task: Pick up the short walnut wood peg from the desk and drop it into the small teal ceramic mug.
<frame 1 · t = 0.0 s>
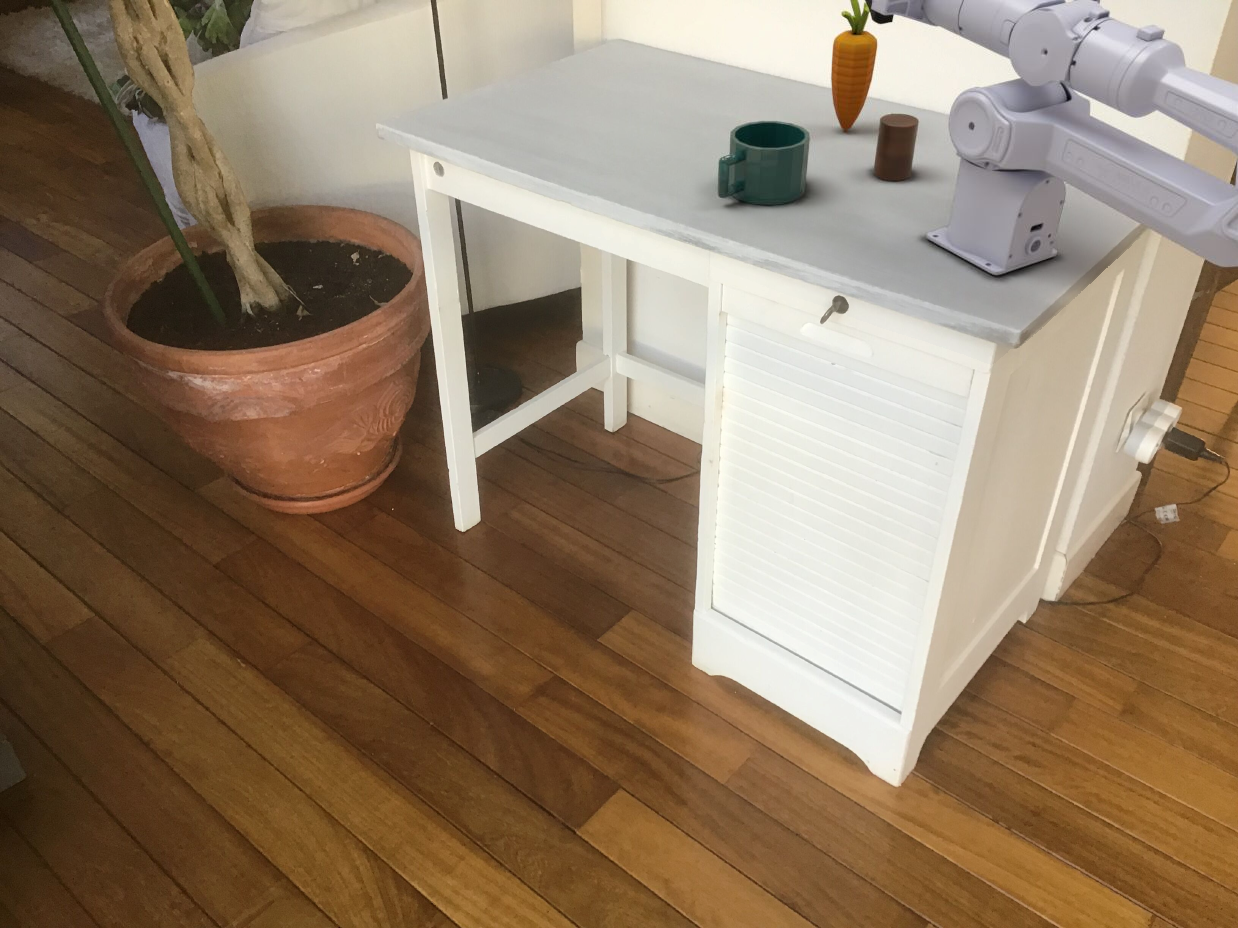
walnut peg: (891, 174, 113), on the table
mug: (766, 189, 110), on the table
carrot: (845, 132, 123), on the table
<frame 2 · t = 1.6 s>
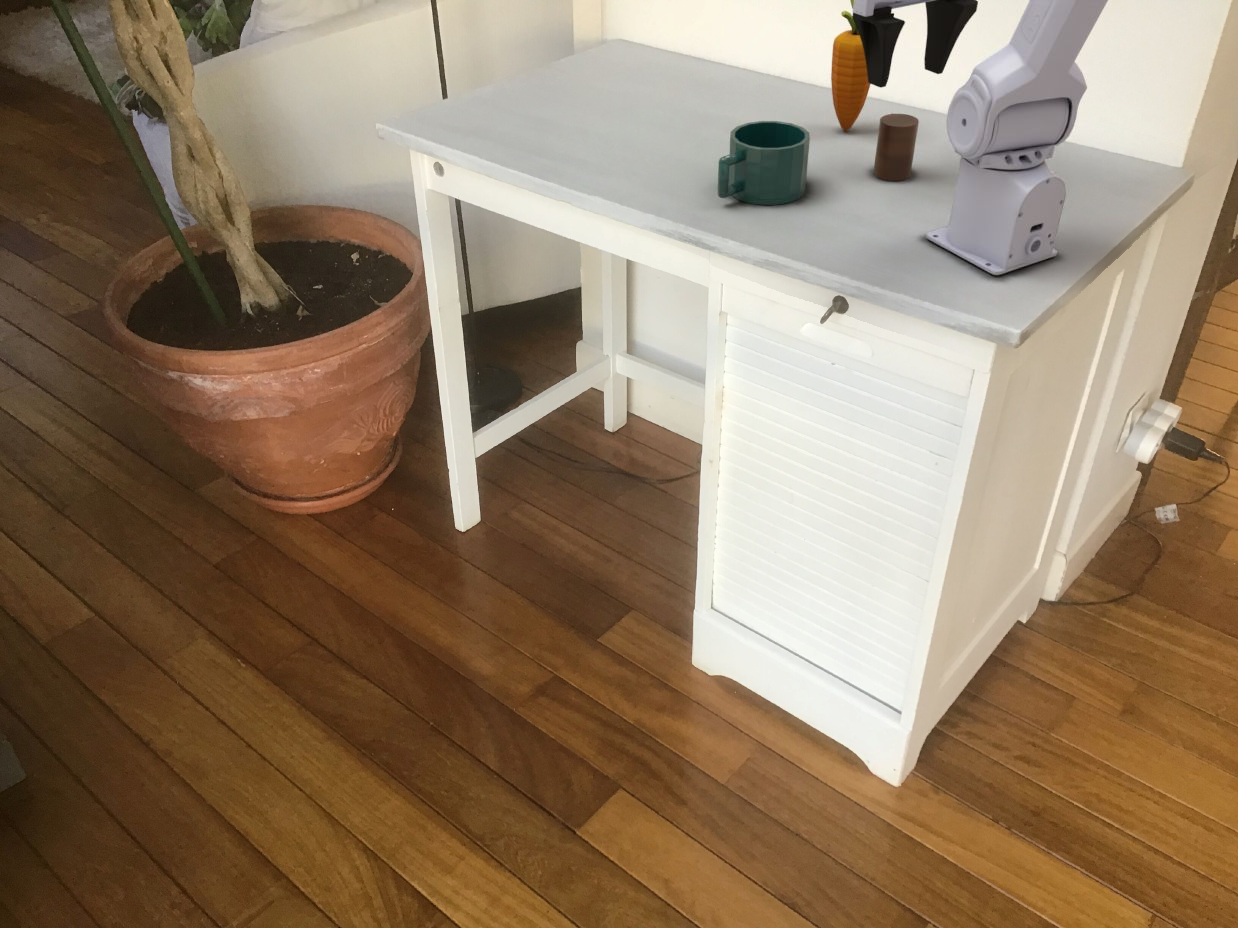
hand: (905, 78, 106), 10 cm above the table, tool pointing down, fingers open, 7 cm apart
nothing on the table moved.
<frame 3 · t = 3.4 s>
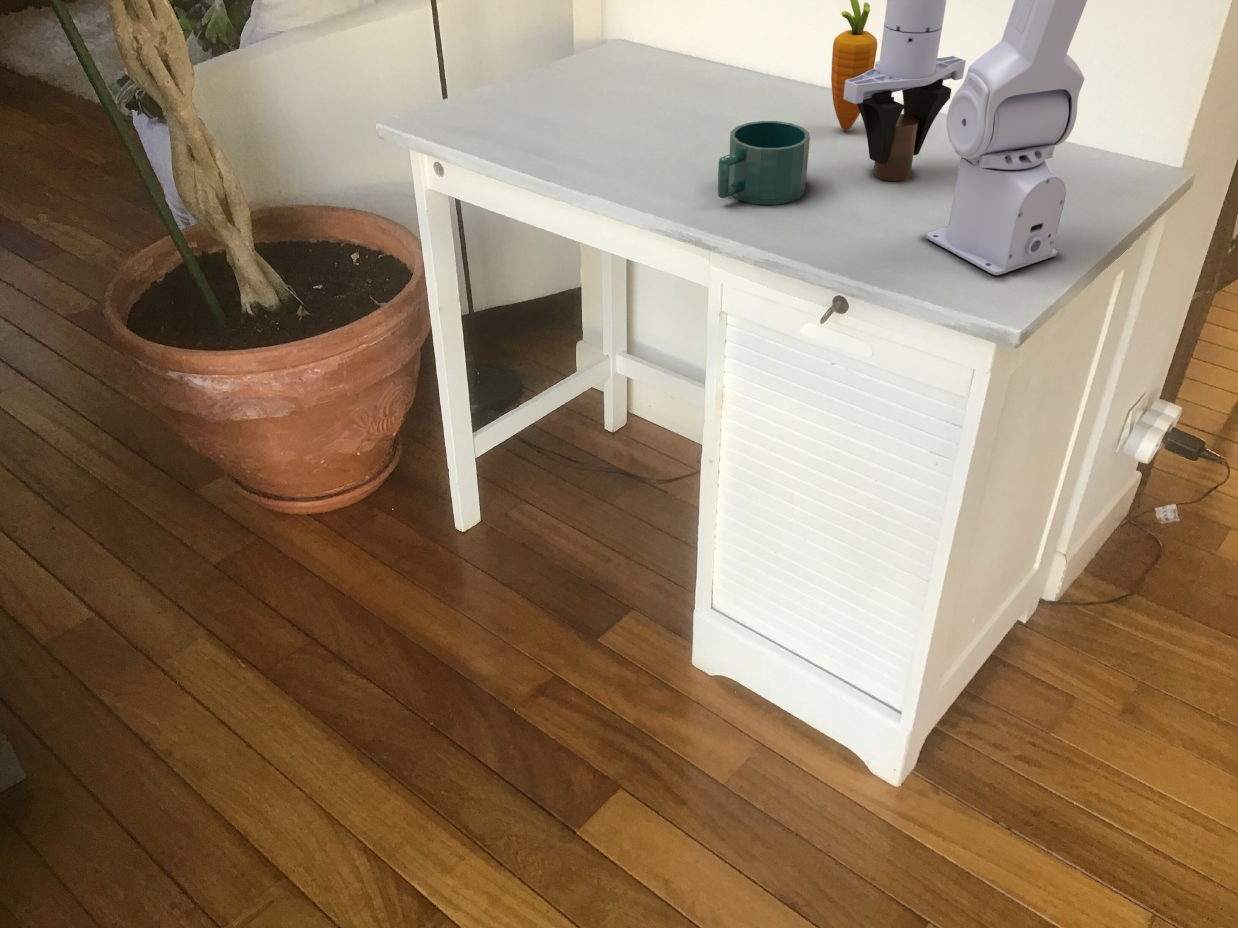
hand: (894, 156, 111), 2 cm above the table, tool pointing down, fingers closed on walnut peg, 4 cm apart
walnut peg: (891, 174, 113), on the table, touching gripper
everything else where it was.
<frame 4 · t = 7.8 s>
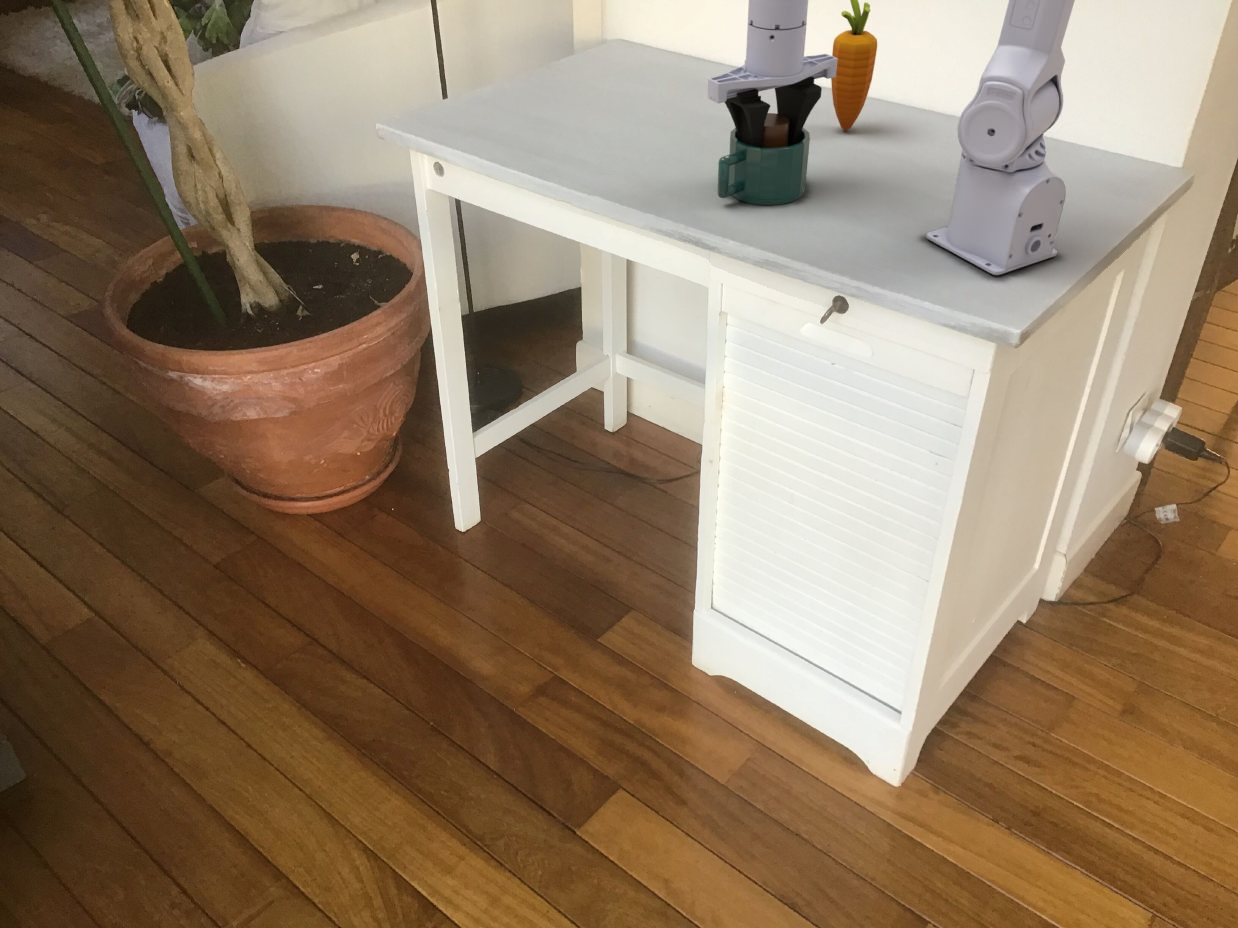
hand: (768, 157, 108), 4 cm above the table, tool pointing down, fingers closed on walnut peg, 4 cm apart
walnut peg: (766, 175, 109), point 2 cm above the table, touching gripper
everything else where it was.
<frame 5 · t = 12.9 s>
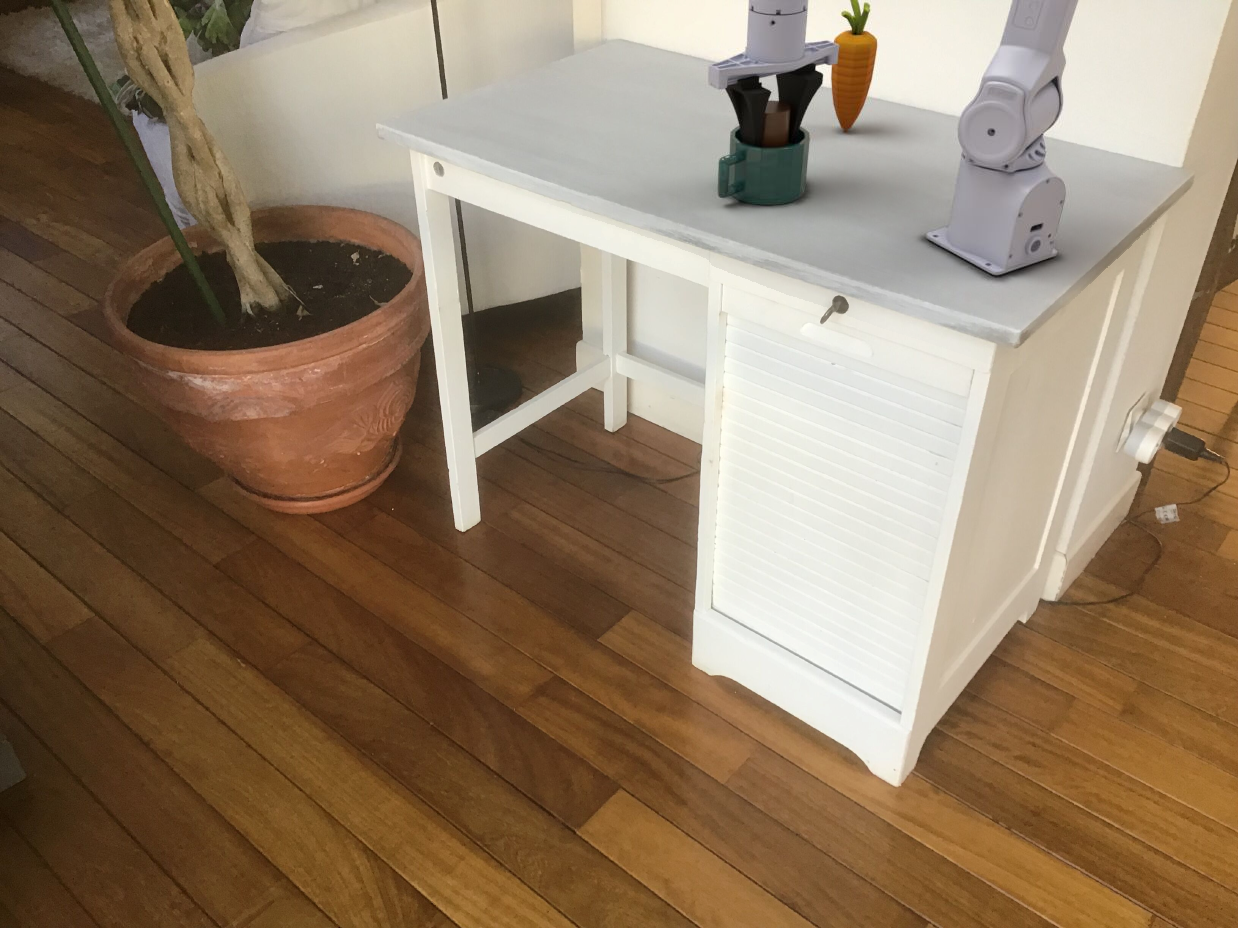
hand: (769, 145, 107), 5 cm above the table, tool pointing down, fingers closed on walnut peg, 4 cm apart
walnut peg: (767, 163, 109), point 3 cm above the table, touching gripper
everything else where it was.
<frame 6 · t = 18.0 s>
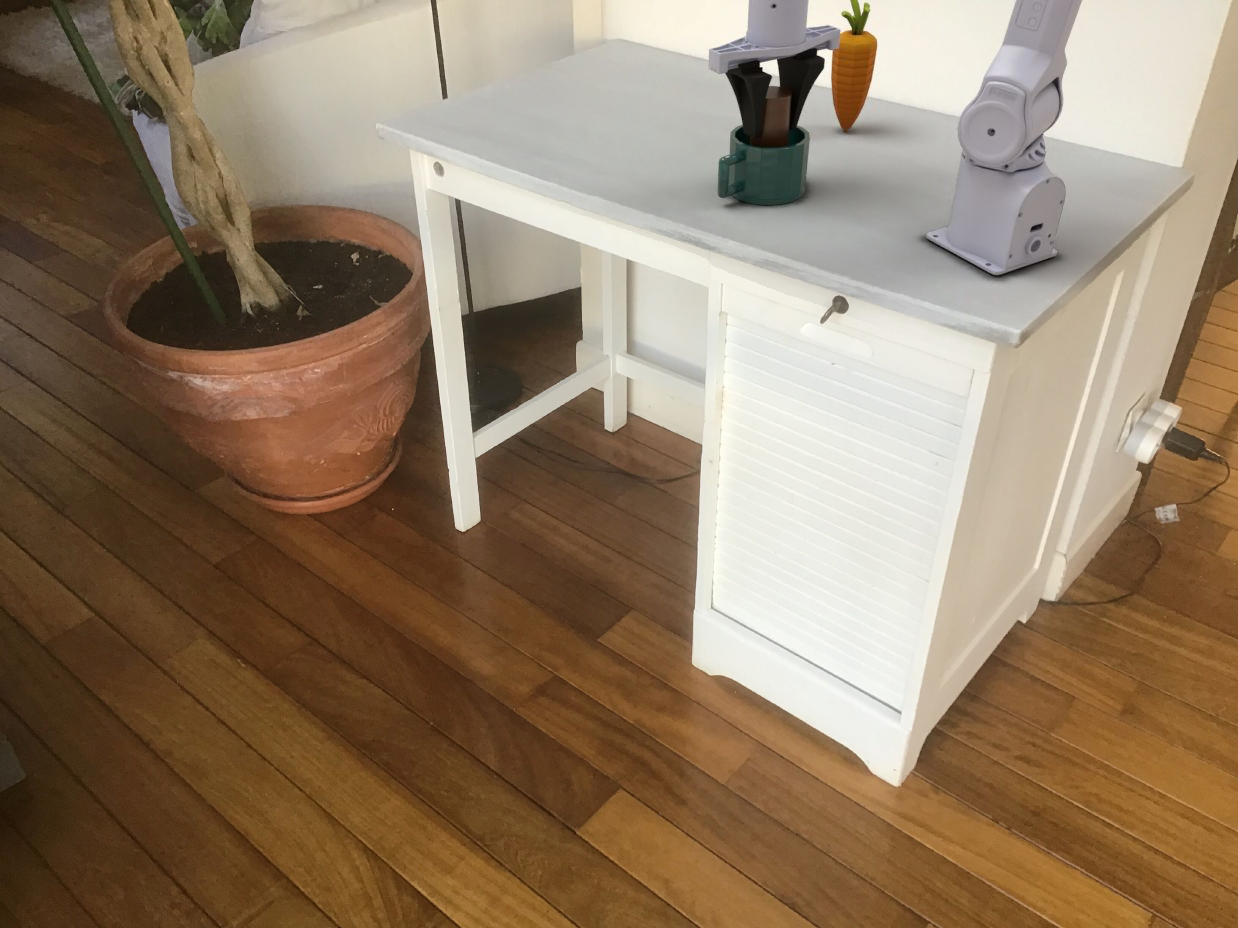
hand: (770, 131, 106), 6 cm above the table, tool pointing down, fingers closed on walnut peg, 4 cm apart
walnut peg: (768, 149, 108), point 4 cm above the table, touching gripper
everything else where it was.
when the fingers open (7 cm above the table, at t = 22.7 s): walnut peg drops 4 cm, resting on mug.
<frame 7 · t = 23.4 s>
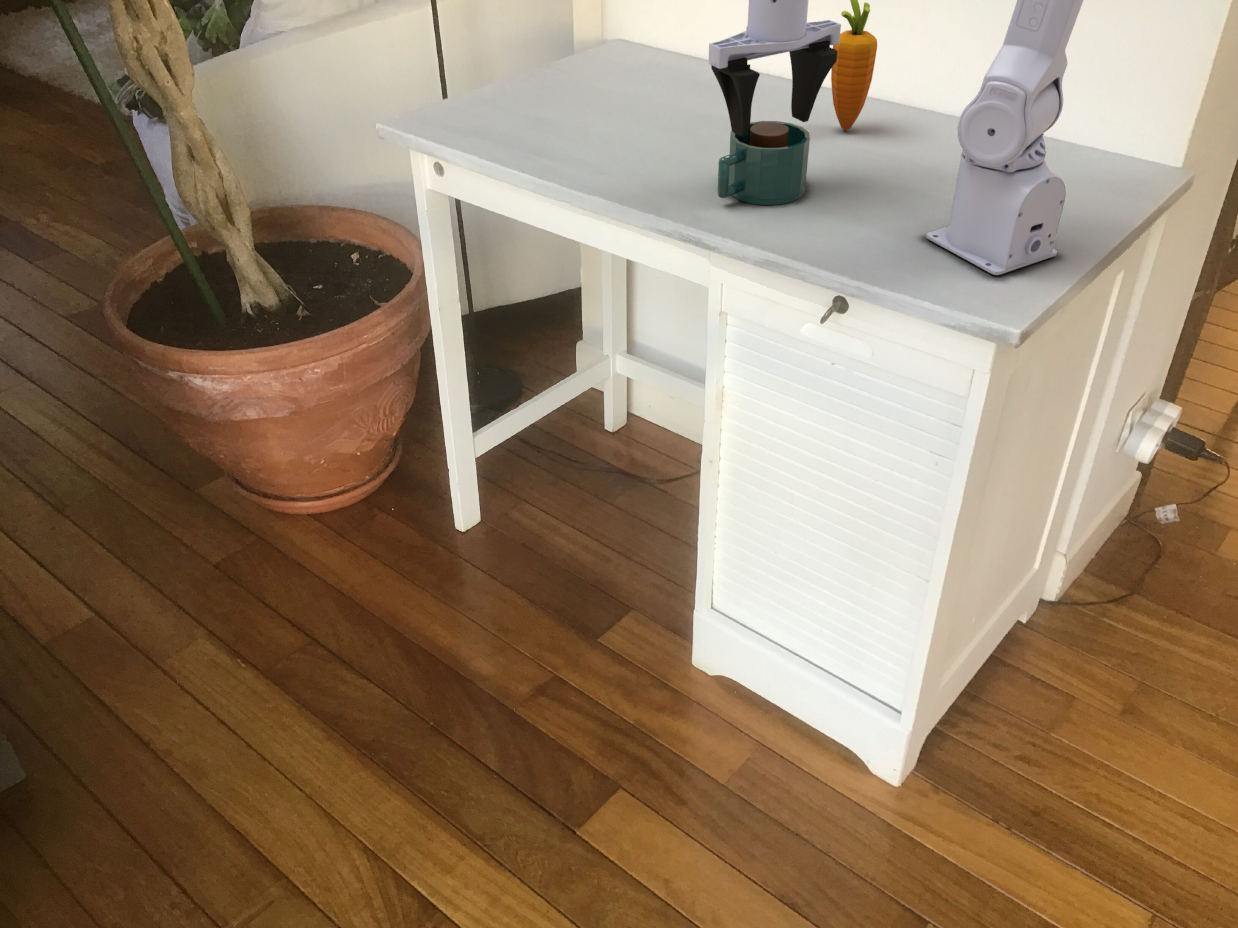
hand: (770, 126, 106), 7 cm above the table, tool pointing down, fingers open, 7 cm apart
walnut peg: (766, 184, 110), point 1 cm above the table, touching mug
everything else where it was.
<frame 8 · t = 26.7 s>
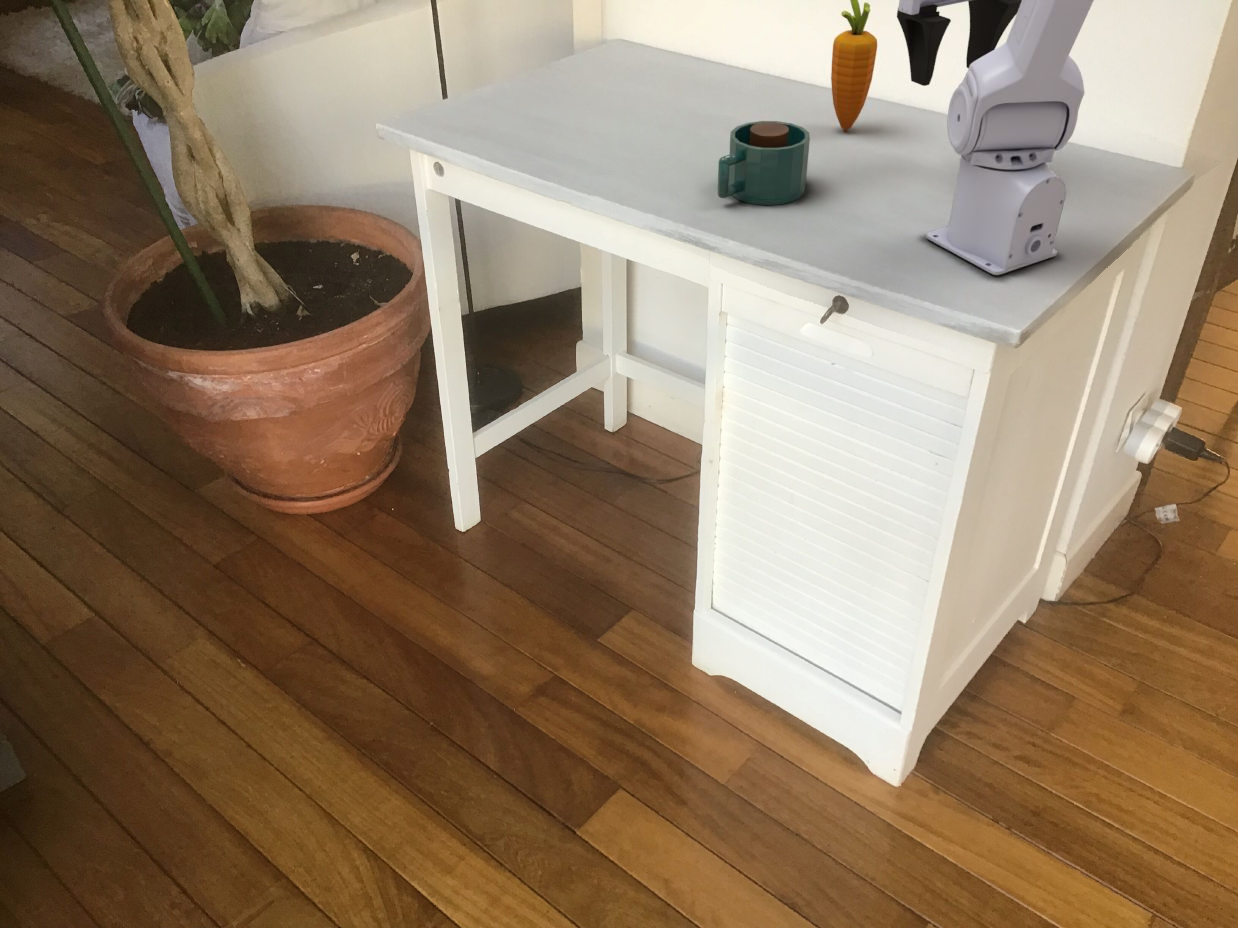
hand: (948, 76, 106), 10 cm above the table, tool pointing down, fingers open, 7 cm apart
nothing on the table moved.
at the end: walnut peg 0.1 cm off-centre in the mug, point 0.6 cm above the mug's base; the gripper is holding nothing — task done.
